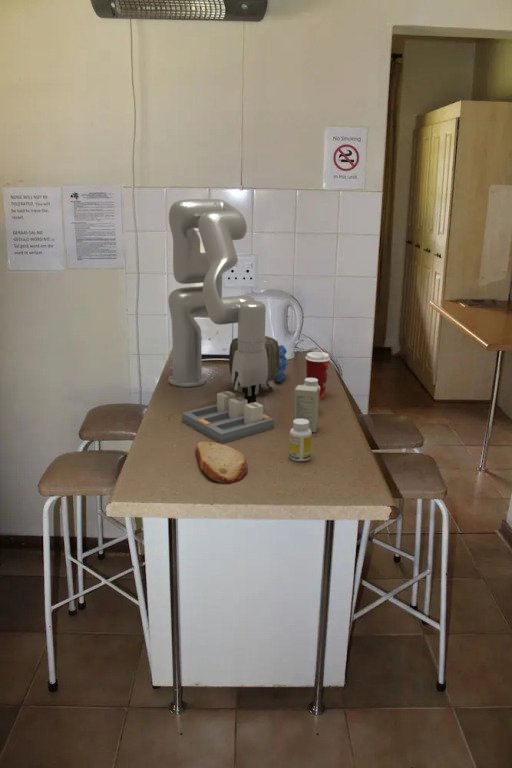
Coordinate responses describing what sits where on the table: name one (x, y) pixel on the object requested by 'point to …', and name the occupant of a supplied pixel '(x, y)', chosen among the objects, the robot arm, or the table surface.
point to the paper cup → (318, 369)
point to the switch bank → (224, 424)
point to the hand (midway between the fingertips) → (250, 407)
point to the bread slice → (221, 462)
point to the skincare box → (307, 405)
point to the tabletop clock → (272, 358)
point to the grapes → (281, 363)
